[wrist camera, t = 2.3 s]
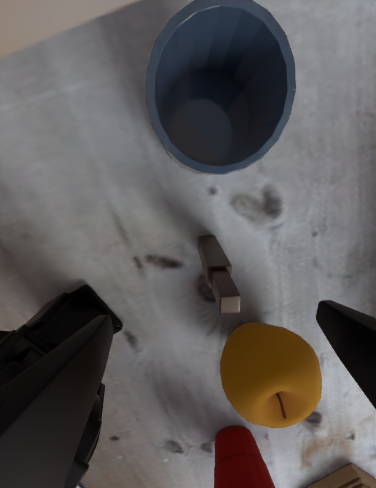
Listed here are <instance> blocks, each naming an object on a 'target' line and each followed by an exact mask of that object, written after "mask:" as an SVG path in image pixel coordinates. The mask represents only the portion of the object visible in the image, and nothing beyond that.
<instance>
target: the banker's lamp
mask: <svg viewBox="0 0 376 488" xmlns="http://www.w3.org/2000/svg"><path fill="white" fill-rule="evenodd" d="M307 488H376V479H375V478H373V477H372V476H370V475H369V474H367V473H366V472H364V471H362V470H361V469H359V468H358V467H356V466H355V465H353V464H352V463H350V464H349V465H347V466H345V467H343V468H341V469H339V470H338V471H336V472H334V473H332V474H330V475H329V476H327V477H325V478H323V479H321V480H319V481H318V482H316V483H314V484H312V485H310V486H308V487H307Z"/></svg>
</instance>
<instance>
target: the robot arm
mask: <svg viewBox="0 0 376 488" xmlns="http://www.w3.org/2000/svg"><path fill="white" fill-rule="evenodd" d="M84 289H85V290H86V291H84ZM316 320H317V322H318V324H319V326H320V328H321V329H322V331H323V333H324V334H325V336H326V338H327V339H328V341H329V343H330V344H331V346H332V348H333V349H334V351H335V353H336V354H337V356H338V357H339V359H340V360H341V362H342V363H343V364H344V366H345V367H346V369H347V370H348V371H349V373H350V374H351V376H352V377H353V378H354V380H355V381H356V382H357V384H358V385H359V387H360V388H361V389H362V391H363V392H364V394H365V395H366V396H367V398H368V399H369V401H370V402H371V403H372V405H373V406H374V407H375V409H376V318H374V317H371V316H369V315H366V314H364V313H361V312H359V311H356V310H354V309H351V308H349V307H346V306H344V305H341V304H339V303H336V302H334V301H331V300H324V301H320V302H319V304H318V309H317V314H316ZM117 326H119V327H117ZM122 327H123V324H122V322H121V321H120V320H119V319H118V318H117V317H116V316H115V315H114V314H113V312H112V311H111V310H110V309H109V308H108V307H107V306H106V305H105V303H104V302H103V301H102V300H101V299H100V298H99V297H98V296H97V295H96V293H95V292H94V291H93V290H92V289H91V288H90V287H89V286H87V285H83V286H81V287H80V288H78V289H76V290H75V291H73V292H71V293H70V294H68V293H63V294H62V295H60V296H58V297H57V298H55V299H53V300H52V301H50V302H48V303H47V304H46V305H45V306H44V307H43V308H41V309H40V310H39V311H38V312H37V313H36V314H35V315H34V316H33V317H32V318H31V319H30V320H29V321H28V322H27V323H26V324H24V325H22V326H21V327H20V328H18V329H17V330H16V331H15V330H13V331H10V332H9V331H0V488H76V486H77V485H78V484H79V482H80V481H81V479H82V478H83V476H84V475H85V473H86V472H87V470H88V467H89V464H88V463H89V461H90V459H91V457H92V455H93V453H94V450H95V448H96V445H97V442H98V439H99V435H100V429H101V424H102V421H101V419H102V410H103V401H104V392H105V385H104V384H102V383H101V380H102V377H103V374H104V371H105V367H106V363H107V359H108V355H109V351H110V347H111V343H112V339H113V334H115V333H117V332H119V331H120V330H122Z"/></svg>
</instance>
